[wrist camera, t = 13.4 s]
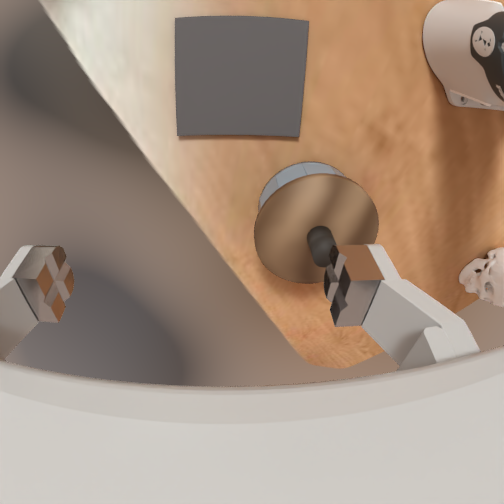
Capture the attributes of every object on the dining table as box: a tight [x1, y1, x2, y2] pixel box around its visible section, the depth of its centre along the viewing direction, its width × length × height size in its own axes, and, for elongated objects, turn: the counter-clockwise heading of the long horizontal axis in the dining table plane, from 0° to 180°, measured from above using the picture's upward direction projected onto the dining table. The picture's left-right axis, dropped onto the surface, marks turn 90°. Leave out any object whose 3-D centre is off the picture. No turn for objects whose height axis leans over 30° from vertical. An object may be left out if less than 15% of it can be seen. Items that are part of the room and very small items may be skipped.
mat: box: [175, 16, 309, 137], centre depth 32 cm, size 15×15×1 cm
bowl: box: [258, 162, 347, 212], centre depth 42 cm, size 14×14×6 cm
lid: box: [254, 173, 379, 284], centre depth 37 cm, size 16×16×5 cm
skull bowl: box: [459, 247, 504, 307], centre depth 52 cm, size 10×14×12 cm
